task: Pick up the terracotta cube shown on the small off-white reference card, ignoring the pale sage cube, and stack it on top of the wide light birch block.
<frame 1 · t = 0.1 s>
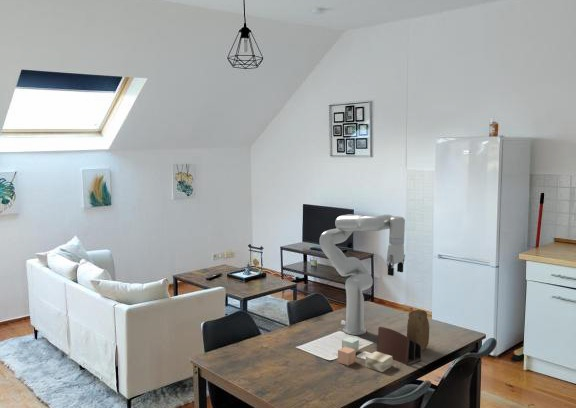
hand: (395, 273, 276), 37 cm above the table, tool pointing down, fingers open, 9 cm apart
birch block: (378, 366, 251), on the table
block: (417, 349, 272), on the table
letter holder: (398, 356, 263), on the table
sage cube: (350, 351, 268), on the table
reference card: (367, 356, 262), on the table
terracotta cube: (346, 362, 255), on the table
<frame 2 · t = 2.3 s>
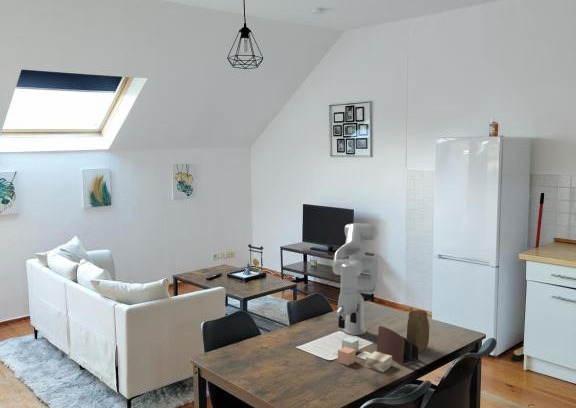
hand: (347, 325, 253), 18 cm above the table, tool pointing down, fingers open, 9 cm apart
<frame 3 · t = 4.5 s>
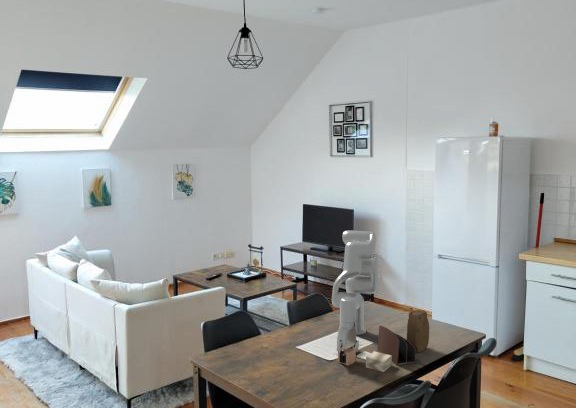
hand: (346, 360, 255), 1 cm above the table, tool pointing down, fingers closed on terracotta cube, 6 cm apart
terracotta cube: (346, 361, 255), on the table, touching gripper
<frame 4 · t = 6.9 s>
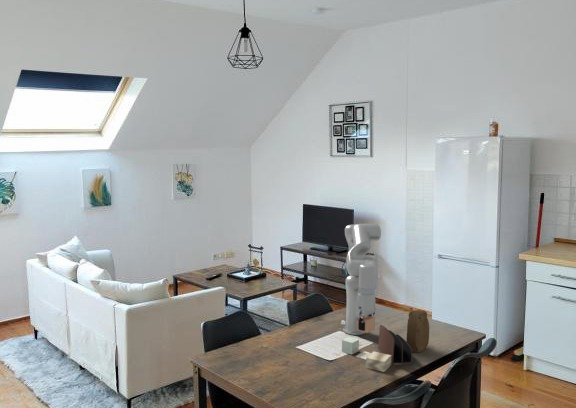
hand: (365, 328, 251), 18 cm above the table, tool pointing down, fingers closed on terracotta cube, 6 cm apart
terracotta cube: (365, 329, 251), point 17 cm above the table, touching gripper
when the fingers open (7 cm above the table, at t = 9.7 s): terracotta cube drops 2 cm, resting on birch block.
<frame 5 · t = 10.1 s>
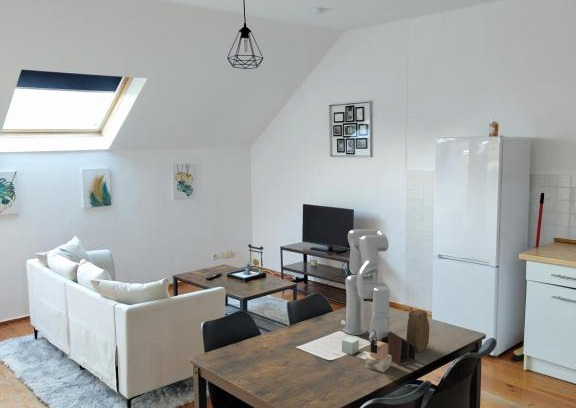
hand: (379, 349, 250), 8 cm above the table, tool pointing down, fingers open, 9 cm apart
birch block: (378, 366, 251), on the table, touching terracotta cube
terracotta cube: (379, 356, 251), point 5 cm above the table, touching birch block
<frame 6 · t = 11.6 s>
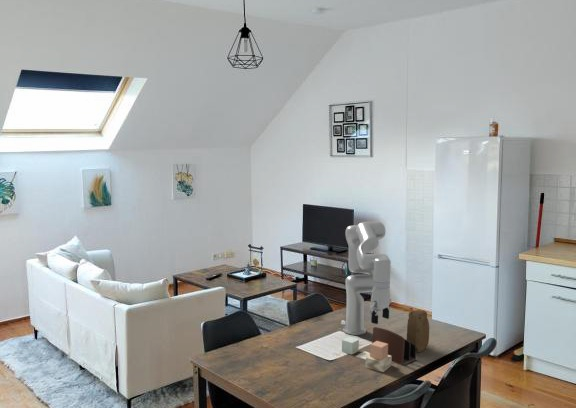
hand: (380, 320, 248), 22 cm above the table, tool pointing down, fingers open, 9 cm apart
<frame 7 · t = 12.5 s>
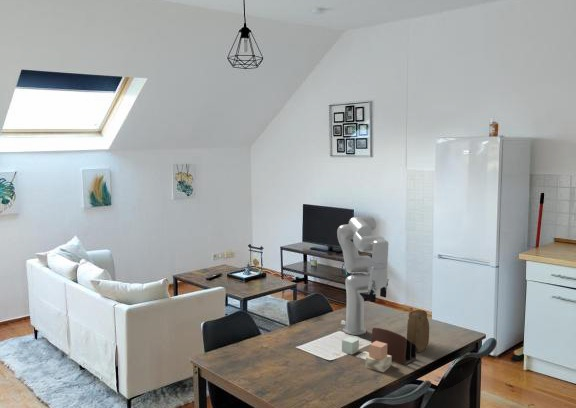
hand: (377, 299, 263), 27 cm above the table, tool pointing down, fingers open, 9 cm apart
birch block: (378, 367, 251), on the table
terracotta cube: (378, 356, 250), point 5 cm above the table
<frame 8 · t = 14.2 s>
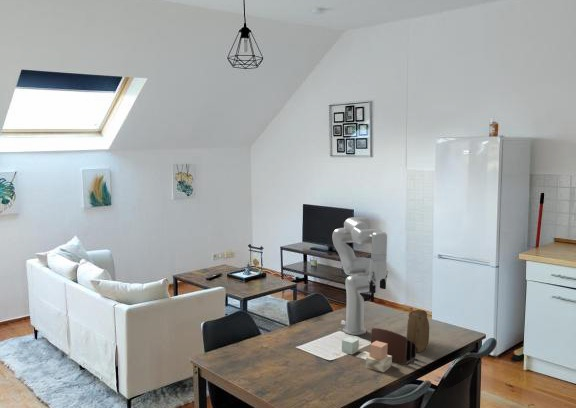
hand: (377, 290, 268), 30 cm above the table, tool pointing down, fingers open, 9 cm apart
birch block: (378, 367, 251), on the table, touching terracotta cube
terracotta cube: (378, 356, 251), point 5 cm above the table, touching birch block
at the end: terracotta cube 0.5 cm off-centre on the birch block, point 5.0 cm above the birch block's base; terracotta cube tilted 0°; the gripper is holding nothing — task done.
